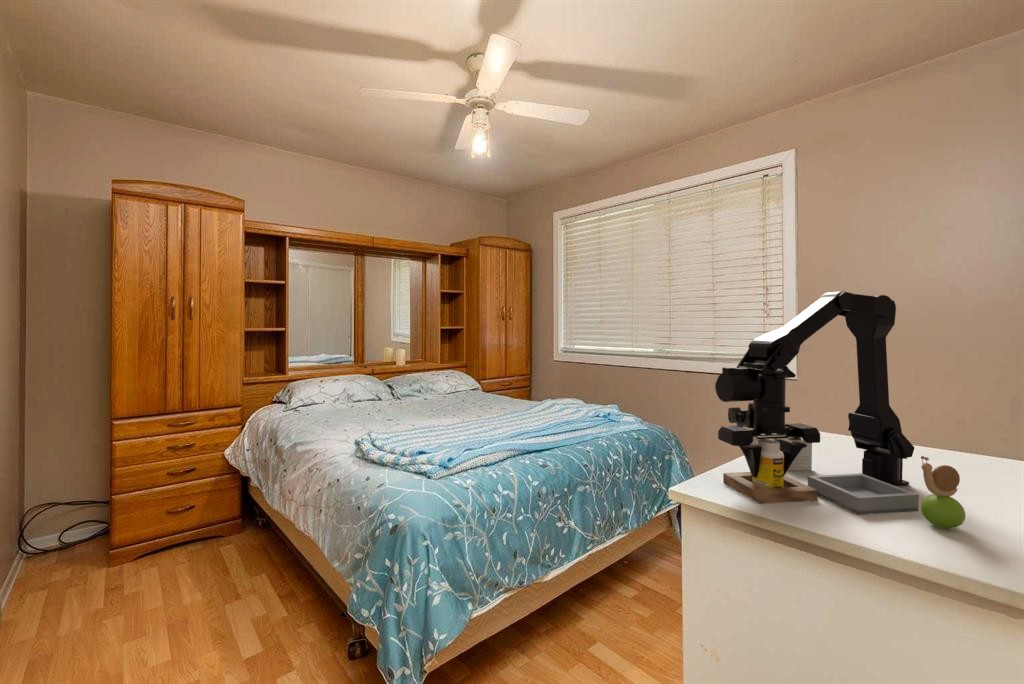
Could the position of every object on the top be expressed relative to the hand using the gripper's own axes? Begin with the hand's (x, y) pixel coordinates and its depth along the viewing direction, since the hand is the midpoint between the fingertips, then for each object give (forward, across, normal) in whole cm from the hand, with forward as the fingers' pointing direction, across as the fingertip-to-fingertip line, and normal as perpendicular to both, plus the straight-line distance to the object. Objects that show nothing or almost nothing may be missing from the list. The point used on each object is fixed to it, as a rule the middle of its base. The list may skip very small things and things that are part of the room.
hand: (767, 476), depth 94 cm
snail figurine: (+3, -17, +19) cm, 26 cm away
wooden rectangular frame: (+3, 0, 0) cm, 3 cm away
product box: (+3, -16, -14) cm, 22 cm away
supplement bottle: (+3, 0, 0) cm, 3 cm away
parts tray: (+3, -14, +7) cm, 16 cm away
